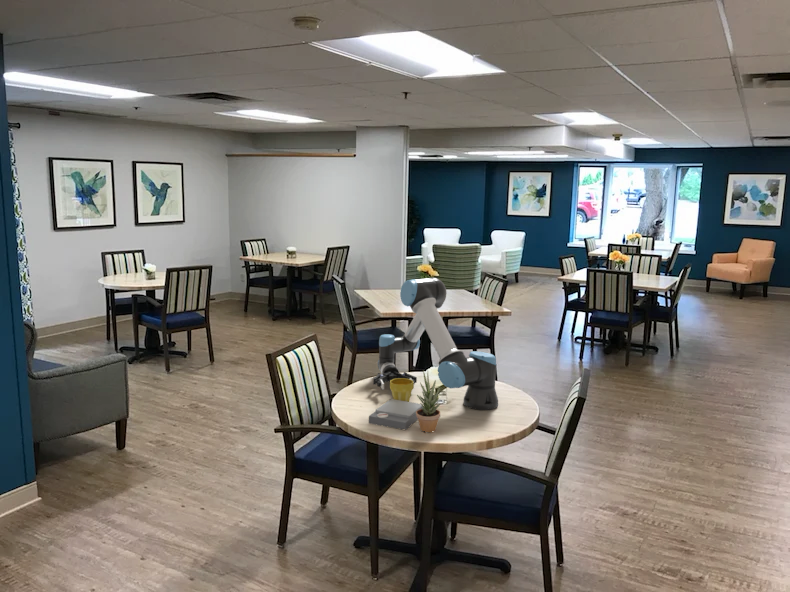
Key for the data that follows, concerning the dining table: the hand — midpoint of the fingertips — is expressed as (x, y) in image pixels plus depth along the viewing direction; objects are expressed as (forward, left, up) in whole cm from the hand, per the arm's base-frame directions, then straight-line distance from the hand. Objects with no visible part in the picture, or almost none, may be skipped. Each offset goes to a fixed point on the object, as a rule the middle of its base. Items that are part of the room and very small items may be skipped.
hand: (398, 386), depth 283 cm
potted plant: (-25, +28, -6) cm, 38 cm away
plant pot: (-3, +4, -6) cm, 8 cm away
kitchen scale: (-9, +21, -6) cm, 24 cm away
